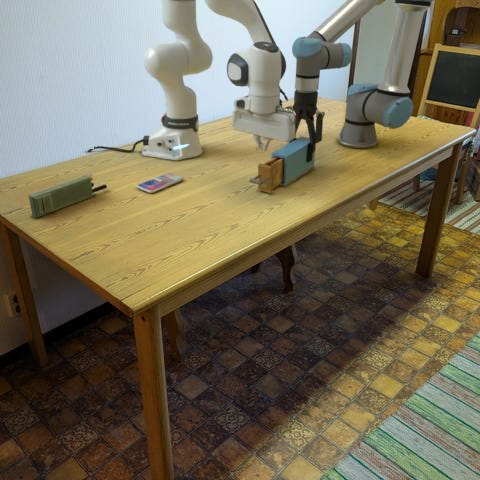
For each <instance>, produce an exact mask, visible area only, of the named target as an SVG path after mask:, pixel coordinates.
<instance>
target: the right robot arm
mask: <svg viewBox="0 0 480 480" xmlns="http://www.w3.org/2000/svg"><path fill="white" fill-rule="evenodd" d="M385 1H386V0H346V1H345V2H344V3H343V4H342V5H341V6H340V7H338V8H337V10H334V12H333V13H332V14H331V15H330V16H328V18H326V19H325V20H324V21H323V22H322V23H320V25H318V27H316V28H315V29H314V30H313V31H311V33H310V34H309V35H307V36H300V37H297V38H296V39H295V40H294V41H293V43H292V45H291V53H292V55H293V57H294V58H295V59H296V61H295V63H296V64H295V78H294V89H295V90H294V92H293V93H294V95H293V105H288V106H285V108H289V109H291V111H293V112H294V114H295V138H294V139H293V140H292V141H294V140H296V139H297V138H298V137H297V132H298V129H299V127H300V124H301V121H302V120H304V121H305V124H306V126H307V132H308V138H310V143H308V149H307V161H306V162H310V161H312V157H313V153H314V152H315V153H316V147H317V144H319V143H321V142H322V140H323V127H324V126H323V125H324V124H323V123H324V118H325V115H326V114H325V113H326V112H325V111H320V110H318V107H317V104H318V97H319V92H318V90H319V86H320V85H319V84H320V77H321V76H320V74H321V71H323V70H324V71H325V70H333V69H335V70H336V69H342V68H346V67H348V66H349V65H350V64H351V63H352V60H353V55H354V54H353V49H352V47H351V45H350V44H349V43H346V42H337V43H335V42H336V41H337V40H339V39H340V38H341V37H342V36H343V35H344V34H345V33H346V32H348V31H349V30H350V29H351V28H352V27H353V26H354V25H356V24H357V22H359V21H360V20H361V19H362V18H363V17H364V16H365V15H366V14H368V13H369V12H370V11H371V10H372V9H374V7H375V6H380V5H382V4H383V3H384V2H385ZM434 1H435V0H394V5H395V7H396V8H397V13H396V18H395V22H394V25H393V26H394V27H393V31H392V35H391V36H392V37H391V42H390V45H389V50H388V54H387V59H386V65H385V68H384V74H383V79H382V82H381V83H374V82H373V83H371V82H367V83H366V82H363V83H354V84H351V85H350V86H349V88H348V92H347V97H346V107H345V116H344V124H343V126H342V128H341V130H340V132H339V133H338V135H337V142H338V144H340V145H341V146H343V147H347V148H351V149H357V150H358V149H360V150H361V149H362V150H363V149H371V148H374V147H376V146H377V143H378V136H377V131H376V124H377V125H380V126H382V127H384V128H389V129H393V130H395V129H399V128H400V127H403V126H404V125H405V124H406V123H407V122H408V121H409V120H410V118H411V117H412V114H413V111H414V103H413V100H412V99H411V98H410V94H411V90H410V89H409V87H408V83H409V78H410V74H411V71H412V70H411V69H412V65H413V61H414V58H415V53H416V49H417V44H418V40H419V36H420V32H421V27H422V23H423V19H424V15H425V13H426V12H427V11H428V10H429V9H430V8H431V6H432V3H433V2H434ZM291 113H292V112H291ZM292 141H290V142H292ZM290 142H288V143H290Z"/></svg>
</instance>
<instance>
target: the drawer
mask: <svg viewBox="0 0 480 480" xmlns="http://www.w3.org/2000/svg"><path fill="white" fill-rule="evenodd" d="M283 181H284V158H280V157H274V158H273V159H271V158H270V159H269V160H267V161H266V162H264V163H259V164H257V175H256V176H254V177H251V178H249V183H252V184H256V185H257V190H259V191H261V192H265V193H268V194H271V193H272V192H273V189H274V188H276V187H277V186H280V185H279V184H280V183H282V182H283Z"/></svg>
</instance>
